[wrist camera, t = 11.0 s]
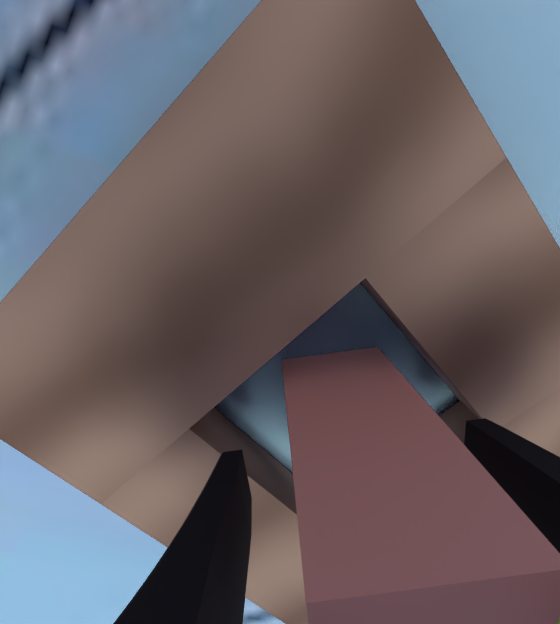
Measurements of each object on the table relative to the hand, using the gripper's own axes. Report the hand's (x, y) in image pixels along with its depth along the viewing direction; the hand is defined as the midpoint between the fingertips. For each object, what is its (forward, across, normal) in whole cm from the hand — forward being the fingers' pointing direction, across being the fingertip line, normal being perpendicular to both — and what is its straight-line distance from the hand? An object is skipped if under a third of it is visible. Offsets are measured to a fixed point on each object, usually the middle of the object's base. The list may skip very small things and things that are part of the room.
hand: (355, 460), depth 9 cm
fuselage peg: (+3, 0, 0) cm, 3 cm away
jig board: (+3, 0, 0) cm, 3 cm away
